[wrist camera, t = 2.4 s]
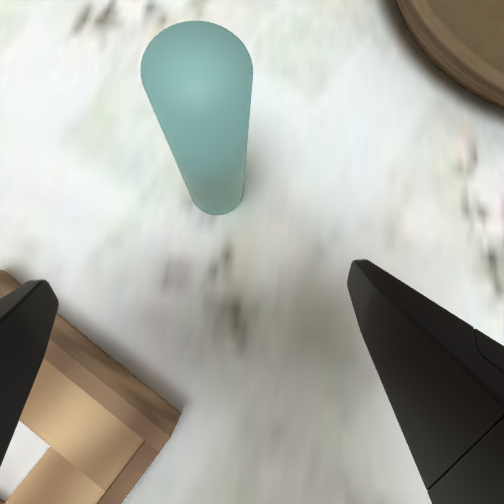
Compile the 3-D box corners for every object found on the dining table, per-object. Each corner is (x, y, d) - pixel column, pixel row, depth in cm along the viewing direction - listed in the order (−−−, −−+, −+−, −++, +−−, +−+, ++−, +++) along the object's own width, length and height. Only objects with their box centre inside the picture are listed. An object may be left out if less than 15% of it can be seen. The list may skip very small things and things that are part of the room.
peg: (253, 185, 24) (274, 63, 11) (221, 225, 23) (206, 143, 11) (212, 154, 24) (189, 1, 11) (179, 193, 23) (116, 76, 11)
